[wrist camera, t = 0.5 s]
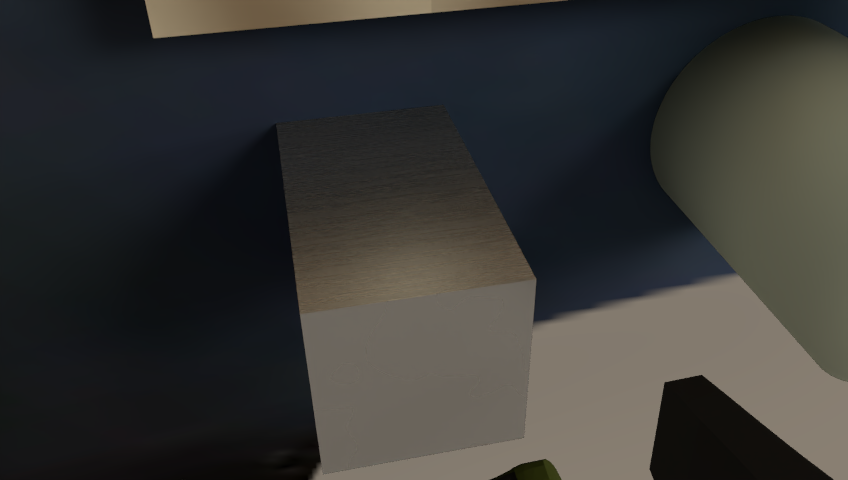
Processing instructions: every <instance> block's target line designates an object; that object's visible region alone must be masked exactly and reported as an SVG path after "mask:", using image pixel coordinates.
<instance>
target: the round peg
mask: <svg viewBox="0 0 848 480" xmlns="http://www.w3.org/2000/svg"><path fill="white" fill-rule="evenodd" d="M650 154H651V162H652V167H653V171H654V174H655V176H656V179H657V181H658V182H659V184H660V186H661V187H662V189H663V190H664V191H665V192H666V193H667V194H668V196H669V197H670V198H671V199H672V200H673V201H674V202H675V204H676V205H677V206H678V207H679V208H680V209H681V210H682V211H683V213H684V214H685V215H686V216H687V217H688V218H689V219H690V220H691V222H692V223H693V224H694V225H695V226H696V227H697V228H698V230H699V231H700V232H701V233H702V234H703V235H704V236H705V237H706V239H707V240H708V241H709V242H710V243H711V244H712V245H713V247H714V248H715V249H716V250H717V251H718V252H719V253H720V254H721V256H722V257H723V258H724V259H725V260H726V261H727V262H728V263H729V265H730V266H731V267H732V268H733V269H734V270H735V271H736V273H737V274H738V275H739V276H740V277H741V278H742V279H743V280H744V282H745V283H746V284H747V285H748V286H749V287H750V288H751V289H752V291H753V292H754V293H755V294H756V295H757V296H758V297H759V299H760V300H761V301H762V302H763V303H764V304H765V305H766V306H767V308H768V309H769V310H770V311H771V312H772V313H773V314H774V316H775V317H776V318H777V319H778V320H779V321H780V322H781V323H782V325H783V326H784V327H785V328H786V329H787V330H788V331H789V332H790V334H791V335H792V336H793V337H794V338H795V339H796V340H797V342H798V343H799V344H800V345H801V346H802V347H803V348H804V349H805V351H806V352H807V353H808V354H809V355H810V356H811V357H812V359H813V360H815V362H816V363H817V364H818V365H819V366H820V367H821V368H822V369H823V370H824V371H825V372H827V373H828V374H830V375H831V376H833V377H835V378H838V379H840V380H843V381H847V382H848V38H847V37H845V36H844V35H842V34H840V33H838V32H836V31H835V30H833V29H831V28H829V27H827V26H826V25H824V24H822V23H820V22H818V21H816V20H813V19H809V18H806V17H800V16H792V15H788V16H774V17H768V18H762V19H759V20H756V21H752V22H749V23H747V24H744V25H742V26H740V27H737V28H735V29H733V30H731V31H730V32H728V33H726V34H724V35H723V36H721V37H719V38H718V39H717V40H715V41H714V42H712V43H711V44H709V45H708V46H707V47H706V48H704V49H703V50H702V51H701V52H700V53H699V54H697V55H696V56H695V57H694V58H693V59H692V60H691V61H690V62H689V63H688V65H687V66H686V67H685V68H684V69H683V70H682V71H681V73H680V74H679V75H678V77H677V78H676V79H675V80H674V82H673V83H672V85H671V87H670V88H669V90H668V91H667V93H666V95H665V97H664V99H663V101H662V103H661V105H660V107H659V109H658V112H657V115H656V118H655V120H654V125H653V129H652V133H651V143H650Z"/></svg>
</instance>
